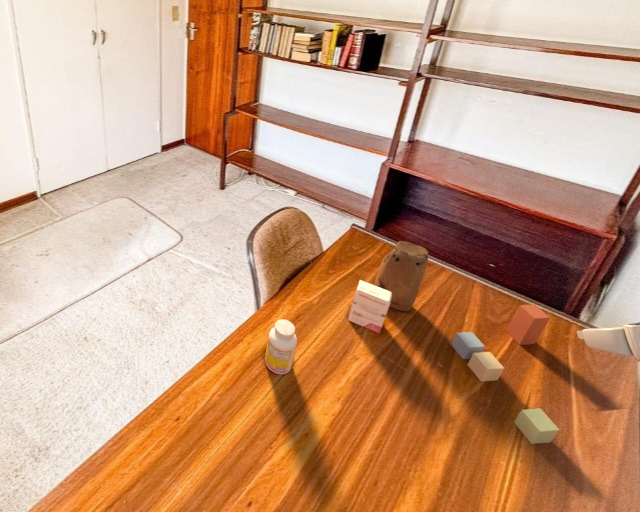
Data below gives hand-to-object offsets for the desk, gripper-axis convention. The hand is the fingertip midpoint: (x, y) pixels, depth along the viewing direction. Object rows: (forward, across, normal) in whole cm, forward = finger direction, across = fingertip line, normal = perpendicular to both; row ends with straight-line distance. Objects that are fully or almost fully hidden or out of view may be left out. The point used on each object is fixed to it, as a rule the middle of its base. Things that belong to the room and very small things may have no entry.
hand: (598, 333), depth 90 cm
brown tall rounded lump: (+32, +29, -7) cm, 44 cm away
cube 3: (+19, +19, +5) cm, 27 cm away
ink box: (+27, +41, -2) cm, 49 cm away
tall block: (+21, 0, +3) cm, 22 cm away
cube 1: (+5, +19, +19) cm, 27 cm away
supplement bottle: (+20, +70, +6) cm, 73 cm away
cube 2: (+15, +19, +10) cm, 26 cm away
